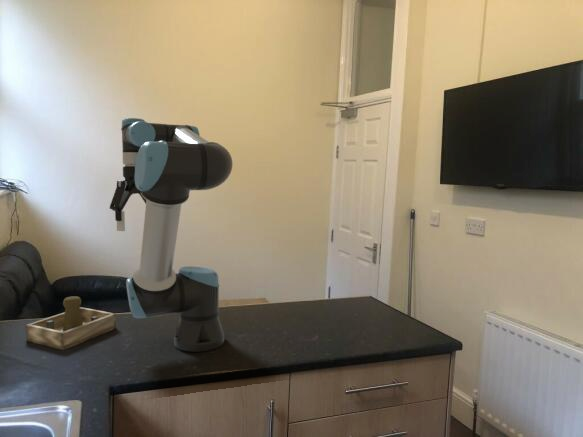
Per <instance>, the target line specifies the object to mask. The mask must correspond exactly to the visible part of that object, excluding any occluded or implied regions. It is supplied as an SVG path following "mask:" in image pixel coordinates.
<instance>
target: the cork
mask: <svg viewBox="0 0 583 437" xmlns="http://www.w3.org/2000/svg"><path fill="white" fill-rule="evenodd" d="M81 304H82V299H81V297H80V296H78V295H77V296H67V297H65V298H64V299H63V302H62V305H63V307H64V312H65V315H64V325H63V332H64V331H67V326H68V325H74V326H75V327H78V326H80V325H83V323H82V317H81V312H80V307H81Z"/></svg>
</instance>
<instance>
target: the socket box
mask: <svg viewBox="0 0 583 437" xmlns="http://www.w3.org/2000/svg"><path fill="white" fill-rule="evenodd" d="M80 312H81V317H82V323H83V325H80V326H78V327H75V326H74V325H68V326H67V331H64V332H63V325H64V315H65V311H64V312H61V313H58V314H55V315H52V316H49V317H46V318H44V319H39V320H37V321H33V322H31V323H28V324H25V334H26V341H27V342H31V343H33V344H38V345H42V346H45V347H50V348H54V349H58V350H62V351H64V350H67V349H69V348H71V347H74V346H77V345H79V344H81V343H84V342H86V341H89V340H92V339H94V338H96V337H98V336H101V335H103V334H106V333H108V332H111V331H112V330H115V329H117V316H116V313H113V312H109V311H104V310H98V309H94V308H93V309H92V308H88V307H82V306H80Z"/></svg>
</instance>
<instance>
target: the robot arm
mask: <svg viewBox="0 0 583 437" xmlns="http://www.w3.org/2000/svg"><path fill="white" fill-rule="evenodd" d="M200 135H201V134H200V130H199V129H198V127H197V126H194V125H189V124H183V125H182V124H168V123H157V122H156V123H155V122H147V121H146V120H144V119H142V118H136V117H134V118H133V117H128V118H127V117H126V118H123V119H122V121H121V138H122V139H121V141H122V142H121V143H122V146H121V147H122V164H123V165H124V166H122V177H123V178H124V180H120V179H118V180H117V181H116V187H115V190H114V193H113V196H112V199H111V202H110V204H109V210H111V211H112V212H113V211H114V212H115V213H114V215H115V216H114V217H115V218H114V219H115V221H116V232H117V231H118V232H125V231H126V224H125V223H126V222H125V214H126V212H125V210H124V208H125V207H126V205H127V203H128V201H129V199H130V198H131V196H132V195H135V194H138V195H139V196H140V197H141V198H142V200H143V202H144V204H145V211H144V222H143V231H142V239H141V240H142V242H141V253H140V262H139V263H140V264H139V266H138V267H137V268H136V269H135V270H134V272H133V276H131V277H129V278H127V279H126V280H125V285H126V293H127V299H128V305H129V309H130V313H131V315H132V317H133V318H134V319H148V318H155V317H160V316H168V315H173V314H179V321H178V324H177V327H176V330H175V333H174V337H173V344H174V345H173V346H174V348H176V349H178V350H180V351H183V352H188V353H189V352H191V353H194V352H195V353H199V352H206V351H207V352H208V351H212V350H215V349H218V348H219V347H221V346H222V345H224V342H225V332H224V331H223V327H222V324H221V320H220V318H219V316H220V315H219V303H220V302H219V299H220V298H219V296H220V295H219V291H220V290H219V288H220V283H219V274H218V273H217V272H216V270H214V269H212V268H207V267H203V266H202V267H201V266H181V267H179V270H178V273H176V271H175V270H174V269H173V265H174V258H175V250H176V244H177V238H178V231H179V223H180V217H181V216H180V215H181V210H182V204H185V203H186V202H187V201H188V200H189V197H190V191H206V190H207V191H209V190H212V189H215V188H216V187H219V186H220V185H222V184H224V183H225V182H226V180H227V179H228V178H229V176H230V175H231V173H232V170H233V159H232V158H233V157H232V156H231V153H230V152H229V150H227V148H225V147H224V146H223V145H221V144H220V143H217V142H213V141H209V140H206V139H205V138H203V137H202V136H200Z"/></svg>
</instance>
